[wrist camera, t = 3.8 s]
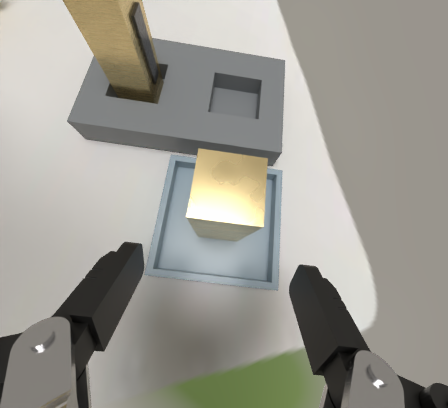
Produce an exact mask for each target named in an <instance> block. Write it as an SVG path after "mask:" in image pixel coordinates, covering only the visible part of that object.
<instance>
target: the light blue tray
mask: <svg viewBox="0 0 448 408" xmlns="http://www.w3.org/2000/svg"><path fill="white" fill-rule="evenodd" d="M196 159H197V158H192V157H185V156H178V155H171V157H170V161H169V166H168V170H167V175H166V180H165V184H164V189H163V193H162V198H161V202H160V207H159V211H158V216H157V221H156V225H155V230H154V234H153V239H152V243H151V248H150V252H149V257H148V261H147V266H146V271H145V275H149V276H157V277H166V278H174V279H183V280H191V281H200V282H208V283H217V284H226V285H234V286H243V287H251V288H260V289H268V290H277V291H278V279H279V251H280V223H281V194H282V170H275V169H268V168H267V180H266V197H265V214H264V227H263V228H261V229H259V230H258V231H256V232H254V233H252V234H250V235H248V236H246V237H244V238H243V239H241V240H239V241H237V242H236V241H228V240H220V239H212V238H204V237H198V236H197V235H196V233H195V231H194V229H193V228H192V226H191V224H190V223H189V221H188V219H187V218H186V215H187V210H188V204H189V198H190V193H191V187H192V181H193V176H194V170H195V164H196Z"/></svg>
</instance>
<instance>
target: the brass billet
mask: <svg viewBox="0 0 448 408" xmlns="http://www.w3.org/2000/svg"><path fill="white" fill-rule="evenodd" d="M267 164H268V158H262V157H255V156H248V155H242V154H235V153H228V152H221V151H214V150H207V149H200V148H198V153H197V159H196V164H195V170H194V176H193V181H192V187H191V193H190V198H189V204H188V210H187V215H186V218H187V219H188V221H189V223H190V224H191V226H192V228H193V229H194V231H195V233H196V235H197V236H198V237H204V238H212V239H220V240H228V241H236V242H237V241H239V240H241V239H243V238H244V237H246V236H248V235H250V234H252V233H254V232H256V231H258V230H259V229H261V228H263V227H264V214H265V197H266V180H267Z"/></svg>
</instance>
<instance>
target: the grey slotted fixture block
mask: <svg viewBox="0 0 448 408" xmlns="http://www.w3.org/2000/svg"><path fill="white" fill-rule="evenodd" d="M152 41H153V45H154V48H155V52H156V56H157V60H158V63H159V67H160V71H161V75H162V79H163V82H164V83H163V87H162V91H161V95H160V98H159V102H158V104H155V103H148V102H142V101H135V100H129V99H122V98H118V96H117V94H116V92H115V91H114V89H113V87H112V85H111V84H110V82H109V80H108V78H107V77H106V75H105V73H104V71H103V70H102V68H101V66H100V64H99V63H98V61H97V59H96V58H95V56H94V57H93V59H92V62H91V64H90V67H89V69H88V72H87V74H86V76H85V79H84V81H83V84H82V86H81V88H80V91H79V93H78V96H77V98H76V101H75V103H74V105H73V108H72V110H71V113H70V115H69V117H68V120H67V122H68V123H69V124H71V125H72V126H73V127H74V128H75V129H76V130H77V131H78V132H79V133H80V134H81V135H82V136H83V137H84V138H85V139H89V140H96V141H103V142H110V143H117V144H124V145H131V146H138V147H145V148H152V149H159V150H166V151H172V152H179V153H186V154H193V155H197V153H198V148H200V149H207V150H214V151H221V152H228V153H235V154H242V155H248V156H255V157H262V158H268V164H267V165H270V166H273V164H274V163H275V162H276V160H277V159H278V157H279V156H280V154H281V153H282V131H283V104H284V78H285V60H280V59H274V58H268V57H262V56H256V55H251V54H245V53H239V52H233V51H227V50H221V49H215V48H209V47H203V46H197V45H191V44H185V43H179V42H173V41H167V40H161V39H155V38H152Z"/></svg>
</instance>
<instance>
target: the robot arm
mask: <svg viewBox="0 0 448 408" xmlns="http://www.w3.org/2000/svg"><path fill="white" fill-rule="evenodd" d="M143 271H144V259H143V249H142V244H139V243H131V242H124V243H123V244H122V245H121V246H120V248H119V249H118V250H117V252H114V251H111V252H109V253H108V254H106V255H105V256H103V257H102V258H100V259H99V260H98V262H97V263H96V264H95V265H94V267H93V268H92V270H90V271H89V273H88V274H87V275H86V277H85V279H83V280H82V281H81V282H80V284H79V285H78V286H77V287H76V288H75V290H74V291H73V292H72V293H71V294H70V296H69V297H68V298H67V299H66V301H65V302H64V303H63V304H62V305H61V307H60V308H59V309H58V310H57V311H56V313H55V314H54V315H53V316H51V317H50V318H47V319H44V320H42V321H39V322H38V323H36V324H34V325H32V326H31V327H30V328H28V329H27V330H26V331H25V332H23V333H20V334H15V335H10V336H5V337H1V338H0V408H92V405H91V393H90V381H89V369H88V361H89V359H90V357H91V356H92V354H93V352H94V351H103V352H104V351H105V349H106V347H107V345H108V343H109V341H110V339H111V337H112V335H113V333H114V331H115V329H116V327H117V325H118V323H119V321H120V319H121V317H122V315H123V313H124V311H125V309H126V307H127V305H128V303H129V301H130V299H131V297H132V295H133V293H134V291H135V289H136V287H137V285H138V283H139V281H140V279H141V277H142V274H143ZM289 294H290V298H291V301H292V305H293V308H294V312H295V315H296V318H297V322H298V325H299V328H300V332H301V335H302V338H303V342H304V345H305V348H306V352H307V355H308V358H309V361H310V365H311V368H312V372H313V375H322V376H324V378H325V381H326V385H325V387H324V390H323V394H322V398H321V402H320V406H319V408H448V386H446V385H444V384H440V383H435V384H432V385H431V386H429V387H427V388H425V387H422V386H420V385H418V384H416V383H414V382H412V381H409V380H407V379H405V378H403V377H400V376H398V375H397V374H396V373H395V372H394V370H393V369H392V368H391V367H390V366H389V365H388V364H387V363H386V362H385V361H384V360H383V359H382V358H380V357H379V356H378V355H376V354H374V353H372V352H371V351H370V350H369V348H368V346H367V344H366V343H365V341H364V339H363V337H362V335H361V333H360V332H359V330H358V328H357V326H356V324H355V323H354V321H353V319H352V317H351V315H350V314H349V312H348V310H346V306H345V304H344V303H343V301H341V297H340V295H339V294H338V292H337V290H336V288H335V287H334V286H333V285H332V284H331V283H330V282H329V281H328V280H327V279H326V278H323V277H322V275H321V274H320V272H319V270H318V268H317V267H316V266H309V265H299V266H298V268H297V270H296V272H295V274H294V276H293V279H292V281H291V283H290V286H289Z"/></svg>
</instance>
